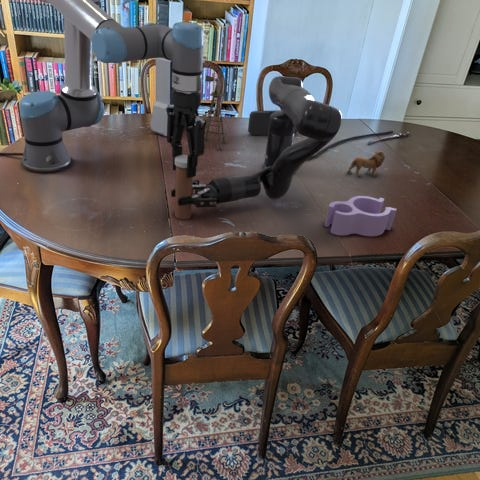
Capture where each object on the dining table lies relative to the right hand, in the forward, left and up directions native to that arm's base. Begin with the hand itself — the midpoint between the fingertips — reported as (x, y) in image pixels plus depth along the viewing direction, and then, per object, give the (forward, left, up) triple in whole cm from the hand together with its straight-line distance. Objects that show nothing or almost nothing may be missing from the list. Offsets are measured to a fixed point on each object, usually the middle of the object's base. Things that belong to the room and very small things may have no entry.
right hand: (175, 197), depth 135 cm
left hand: (-2, +1, +8) cm, 8 cm away
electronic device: (-48, -52, -6) cm, 71 cm away
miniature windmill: (-52, -29, -6) cm, 60 cm away
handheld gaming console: (-83, -21, -6) cm, 85 cm away
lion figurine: (-74, +27, -6) cm, 79 cm away
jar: (-2, +1, -6) cm, 7 cm away
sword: (-121, +19, -6) cm, 122 cm away
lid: (-2, +1, +11) cm, 12 cm away
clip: (-36, +42, -6) cm, 56 cm away
